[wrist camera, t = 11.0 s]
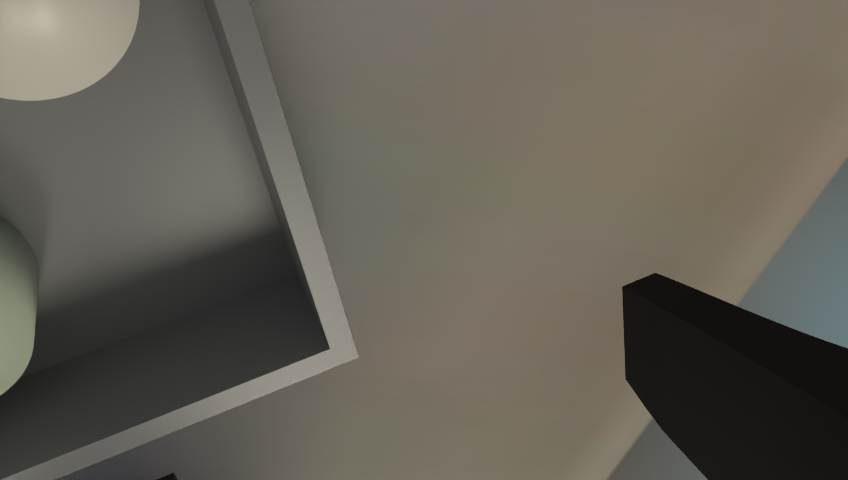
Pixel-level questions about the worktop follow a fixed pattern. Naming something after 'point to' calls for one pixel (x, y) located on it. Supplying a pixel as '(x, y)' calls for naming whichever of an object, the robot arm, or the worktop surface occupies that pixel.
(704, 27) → the worktop surface
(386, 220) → the worktop surface
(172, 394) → the storage box
